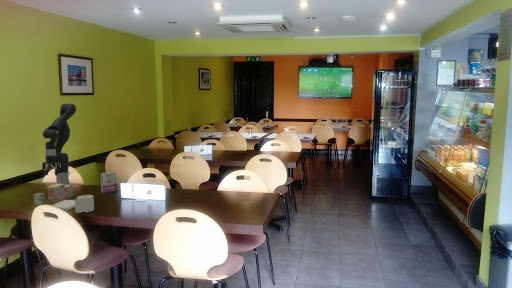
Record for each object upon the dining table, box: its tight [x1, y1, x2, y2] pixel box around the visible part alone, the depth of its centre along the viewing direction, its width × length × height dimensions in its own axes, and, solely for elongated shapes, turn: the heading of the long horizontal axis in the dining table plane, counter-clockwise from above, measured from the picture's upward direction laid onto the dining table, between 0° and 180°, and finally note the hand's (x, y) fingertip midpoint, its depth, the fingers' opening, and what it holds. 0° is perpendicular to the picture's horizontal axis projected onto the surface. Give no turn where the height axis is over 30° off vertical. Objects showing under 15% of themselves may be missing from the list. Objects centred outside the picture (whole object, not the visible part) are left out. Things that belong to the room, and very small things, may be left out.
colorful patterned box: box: [46, 183, 74, 204], centre depth 325 cm, size 21×6×12 cm, turn 168°
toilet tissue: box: [74, 194, 95, 214], centre depth 293 cm, size 11×12×10 cm
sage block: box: [33, 192, 46, 206], centre depth 311 cm, size 5×5×8 cm
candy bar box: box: [99, 171, 117, 194], centre depth 347 cm, size 11×5×16 cm, turn 129°
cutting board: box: [53, 199, 75, 211], centre depth 307 cm, size 20×16×2 cm
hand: (51, 175), depth 333 cm, fingers open, 8 cm apart
